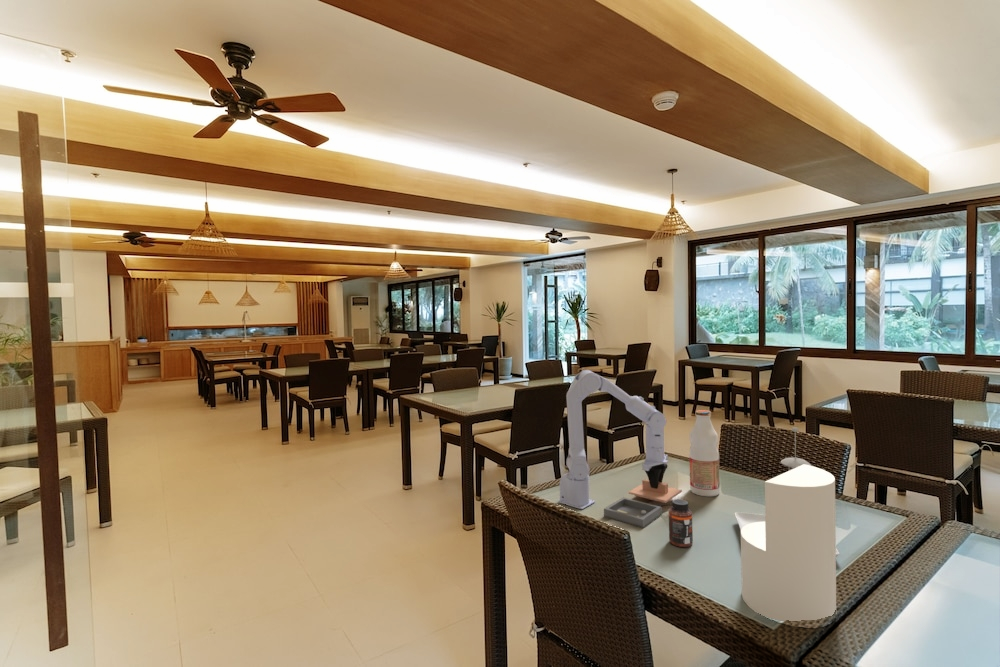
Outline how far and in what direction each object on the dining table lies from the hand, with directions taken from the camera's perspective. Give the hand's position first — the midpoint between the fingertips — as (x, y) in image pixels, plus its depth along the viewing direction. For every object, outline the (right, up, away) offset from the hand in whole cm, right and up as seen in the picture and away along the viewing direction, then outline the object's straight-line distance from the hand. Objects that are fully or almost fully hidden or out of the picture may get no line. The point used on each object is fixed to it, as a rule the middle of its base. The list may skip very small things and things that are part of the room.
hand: (656, 486), depth 161 cm
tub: (-11, -5, -11) cm, 17 cm away
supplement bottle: (-3, -6, -30) cm, 31 cm away
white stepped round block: (+9, -7, -58) cm, 59 cm away
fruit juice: (+19, -4, +6) cm, 20 cm away
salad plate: (+24, -5, -31) cm, 39 cm away
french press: (+42, -4, -7) cm, 43 cm away
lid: (0, -2, 0) cm, 2 cm away
